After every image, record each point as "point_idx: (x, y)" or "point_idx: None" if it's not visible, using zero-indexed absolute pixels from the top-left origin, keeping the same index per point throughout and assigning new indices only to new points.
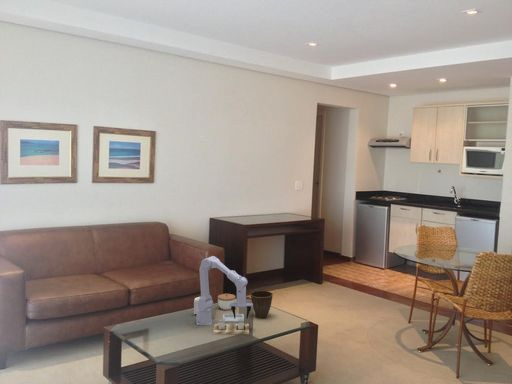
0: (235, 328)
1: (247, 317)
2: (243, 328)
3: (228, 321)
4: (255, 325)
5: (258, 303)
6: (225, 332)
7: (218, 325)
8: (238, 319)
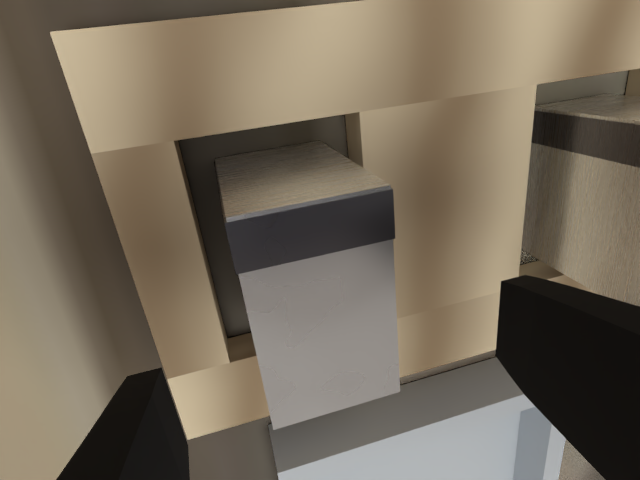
0: None
1: (116, 402)
2: (225, 170)
3: (496, 397)
4: None
5: None
6: None
7: None
8: (391, 372)
